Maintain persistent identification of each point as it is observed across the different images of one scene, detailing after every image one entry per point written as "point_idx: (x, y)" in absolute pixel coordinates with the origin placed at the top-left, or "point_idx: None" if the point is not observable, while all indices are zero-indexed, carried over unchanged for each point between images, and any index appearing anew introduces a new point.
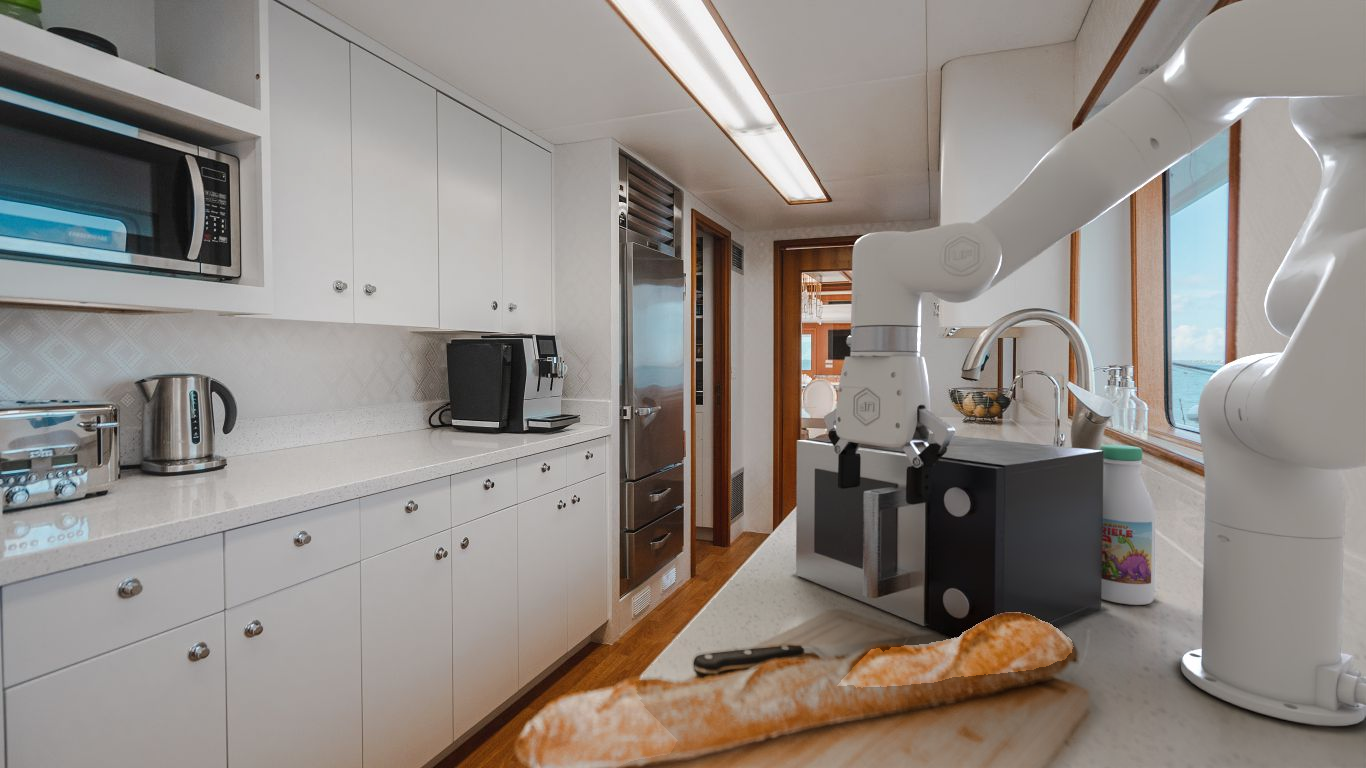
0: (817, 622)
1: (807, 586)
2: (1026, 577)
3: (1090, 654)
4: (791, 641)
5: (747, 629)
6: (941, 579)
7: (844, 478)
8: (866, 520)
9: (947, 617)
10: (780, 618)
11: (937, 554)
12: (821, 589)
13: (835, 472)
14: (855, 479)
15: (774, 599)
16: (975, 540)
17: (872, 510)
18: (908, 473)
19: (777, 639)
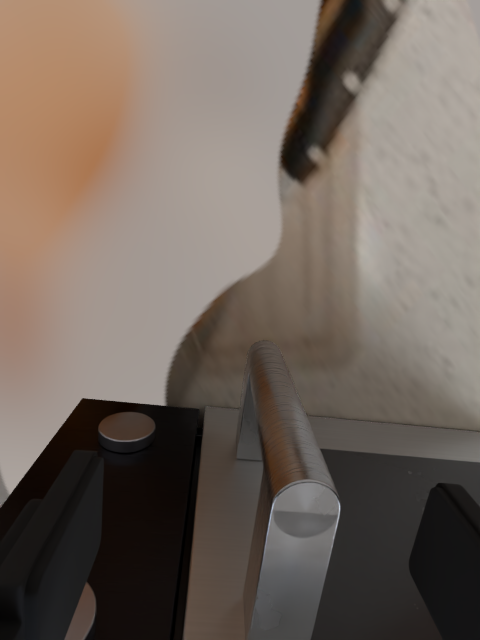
0: (339, 288)
1: (450, 408)
2: None
3: (7, 497)
4: (323, 184)
5: (413, 159)
6: (162, 460)
7: (453, 521)
8: (291, 420)
9: (159, 420)
10: (398, 249)
11: (165, 495)
12: (422, 415)
13: None
14: (428, 570)
15: (460, 311)
16: None
17: (278, 446)
18: (30, 548)
19: (346, 170)
